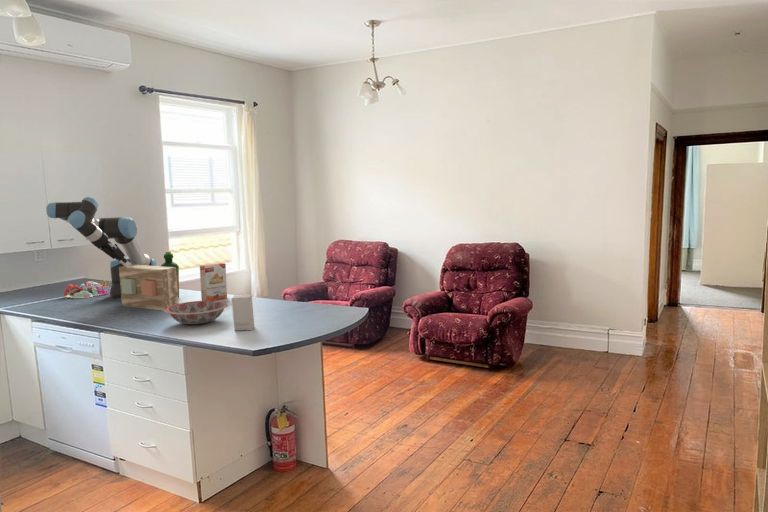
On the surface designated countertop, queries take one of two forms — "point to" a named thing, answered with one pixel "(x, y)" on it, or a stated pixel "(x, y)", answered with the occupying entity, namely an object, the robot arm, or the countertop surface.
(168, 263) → the bottle
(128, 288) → the sage button
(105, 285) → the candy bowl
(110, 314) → the countertop surface
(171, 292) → the block
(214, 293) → the cracker box
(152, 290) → the terracotta button
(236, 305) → the skincare box
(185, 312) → the ceramic bowl
